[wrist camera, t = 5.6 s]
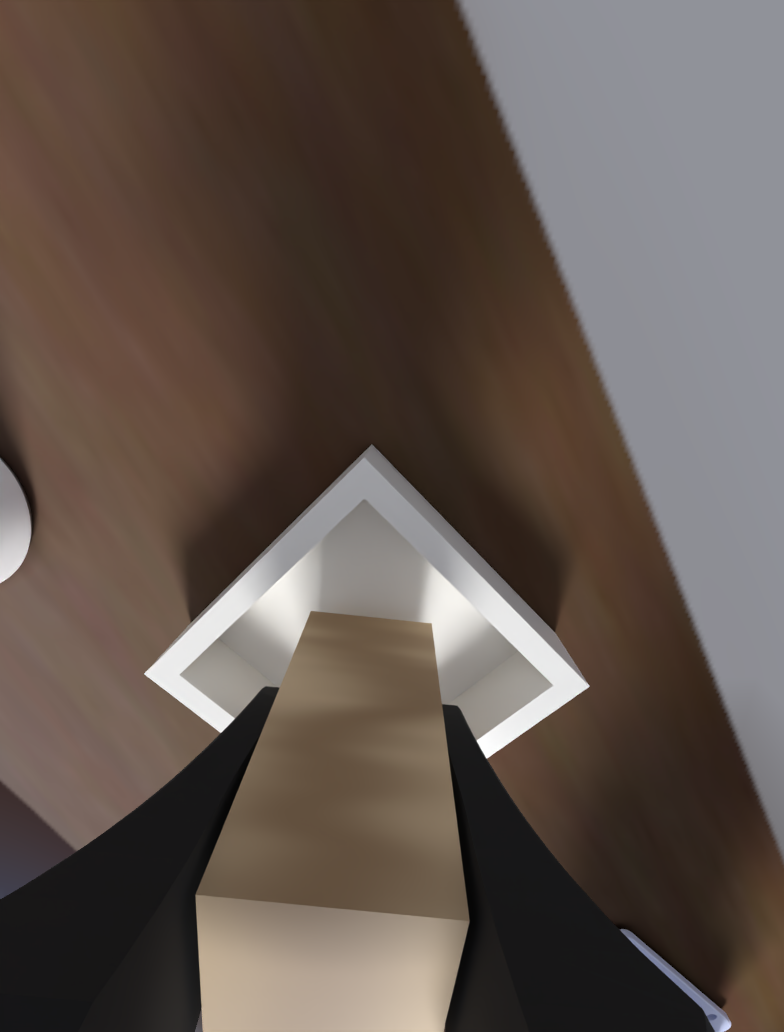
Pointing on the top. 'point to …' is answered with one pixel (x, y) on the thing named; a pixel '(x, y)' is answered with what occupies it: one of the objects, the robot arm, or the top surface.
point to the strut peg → (340, 847)
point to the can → (13, 522)
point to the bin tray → (375, 610)
